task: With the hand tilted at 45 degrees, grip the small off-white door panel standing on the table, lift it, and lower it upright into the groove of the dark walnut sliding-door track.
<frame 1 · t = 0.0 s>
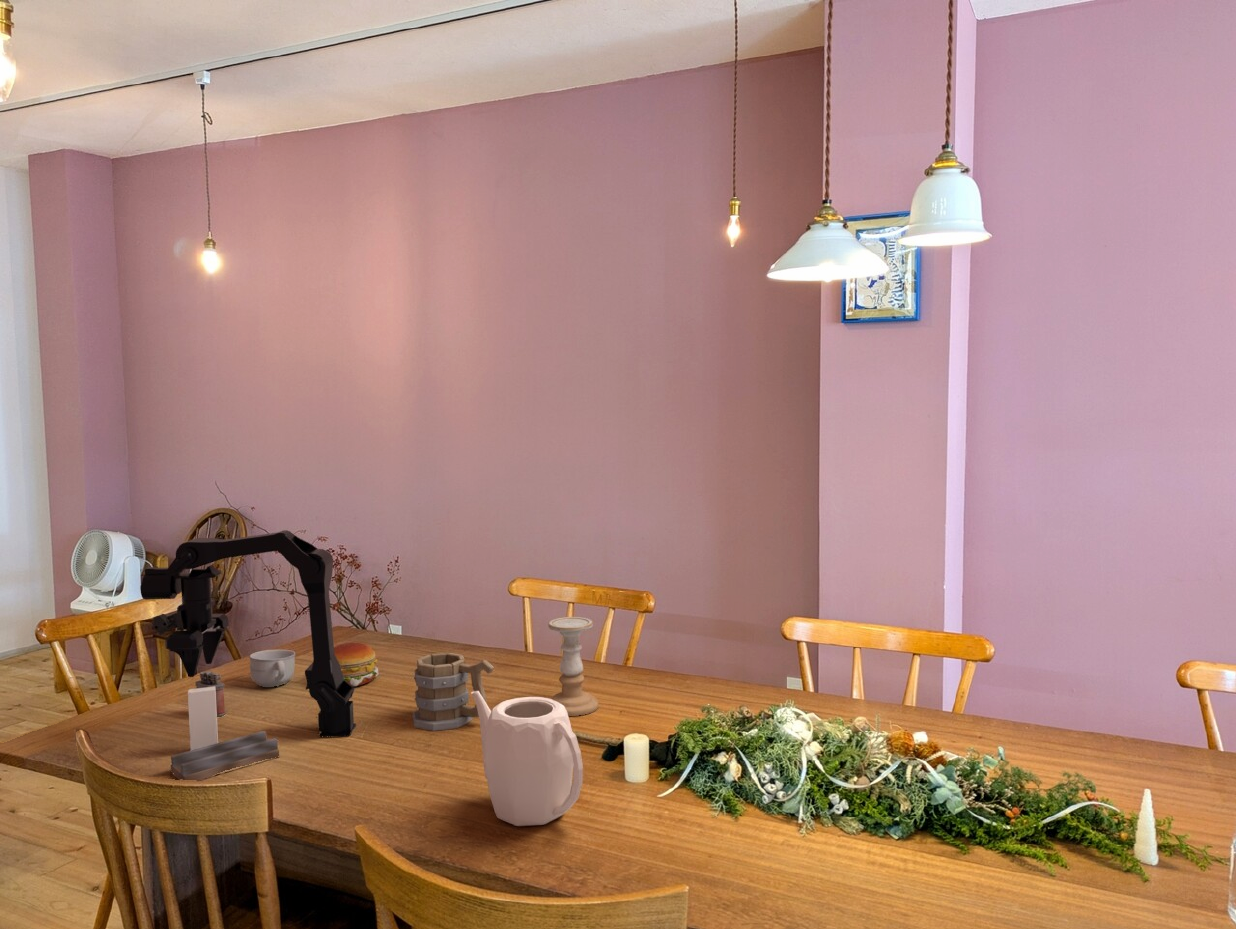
hand: (200, 670, 190), 15 cm above the table, tool pointing down, fingers open, 9 cm apart
door track: (226, 764, 176), on the table
teacup: (274, 686, 225), on the table
lighter: (211, 715, 204), on the table
tankard: (455, 723, 197), on the table
door panel: (204, 751, 183), on the table
candle holder: (572, 708, 206), on the table
burger: (351, 682, 227), on the table
watering can: (525, 811, 155), on the table
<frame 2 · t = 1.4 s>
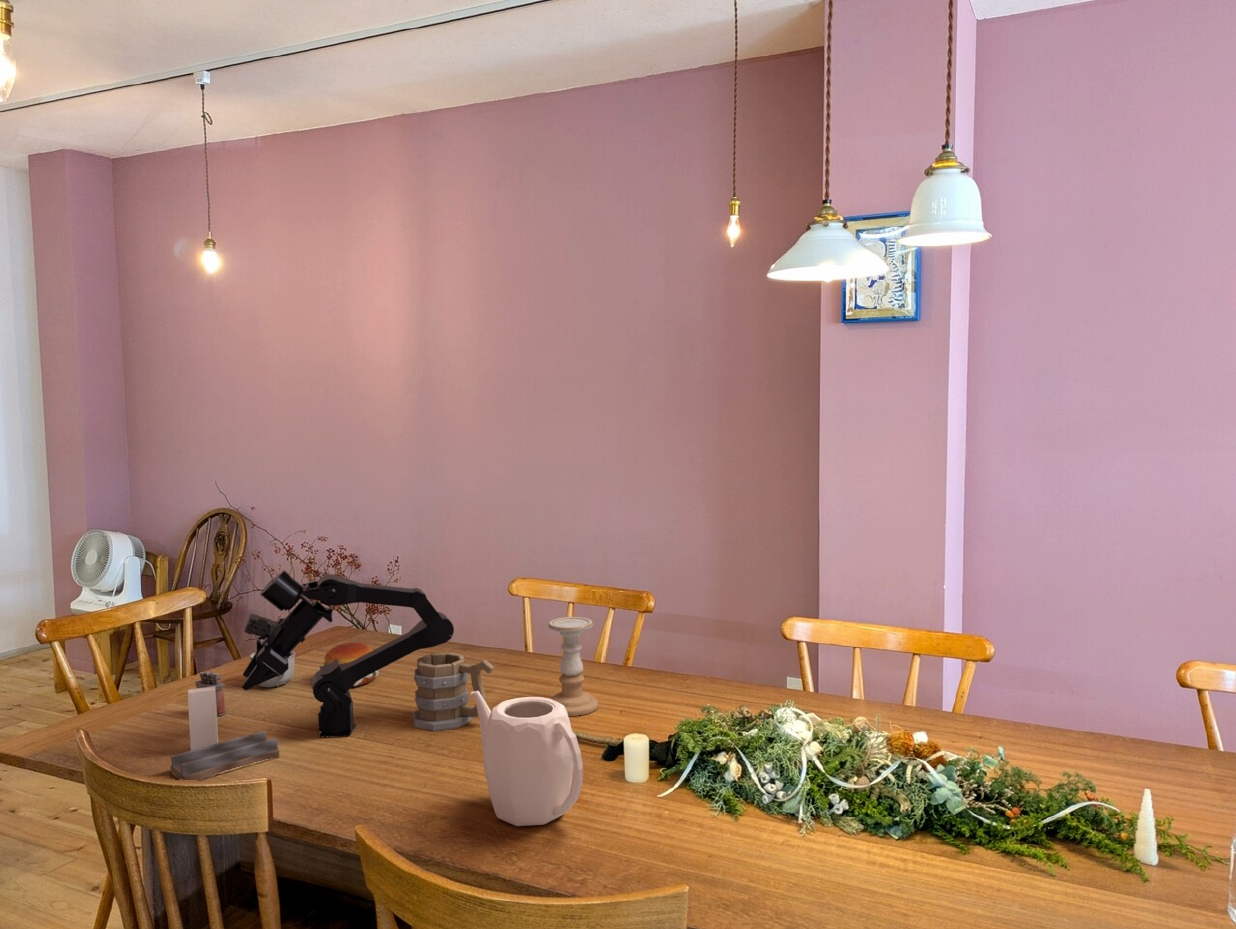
hand: (244, 682, 185), 13 cm above the table, tool tilted 45°, fingers open, 9 cm apart
nothing on the table moved.
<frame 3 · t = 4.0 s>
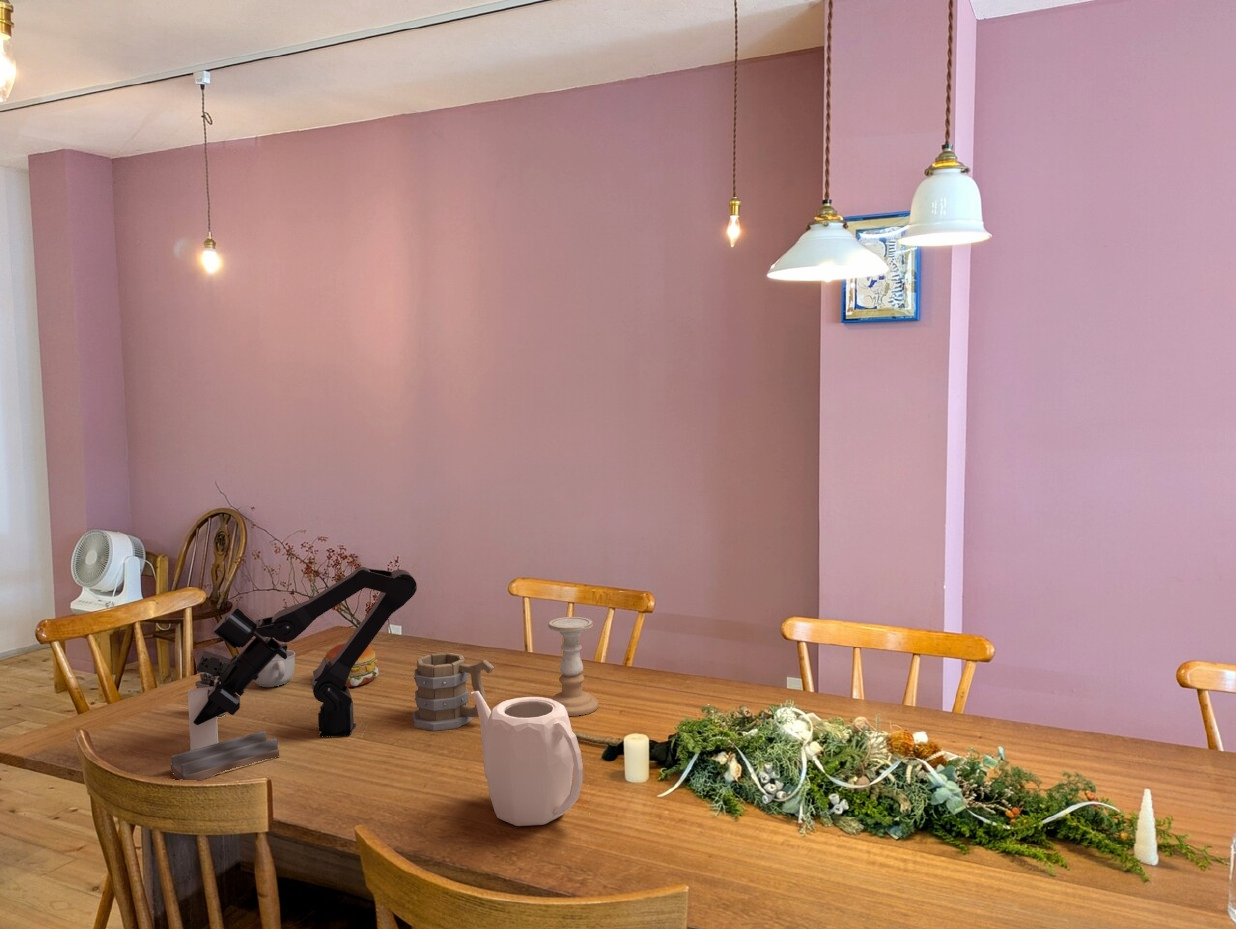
hand: (195, 721, 182), 7 cm above the table, tool tilted 45°, fingers open, 3 cm apart
door panel: (204, 751, 183), on the table, touching gripper
everything else where it was.
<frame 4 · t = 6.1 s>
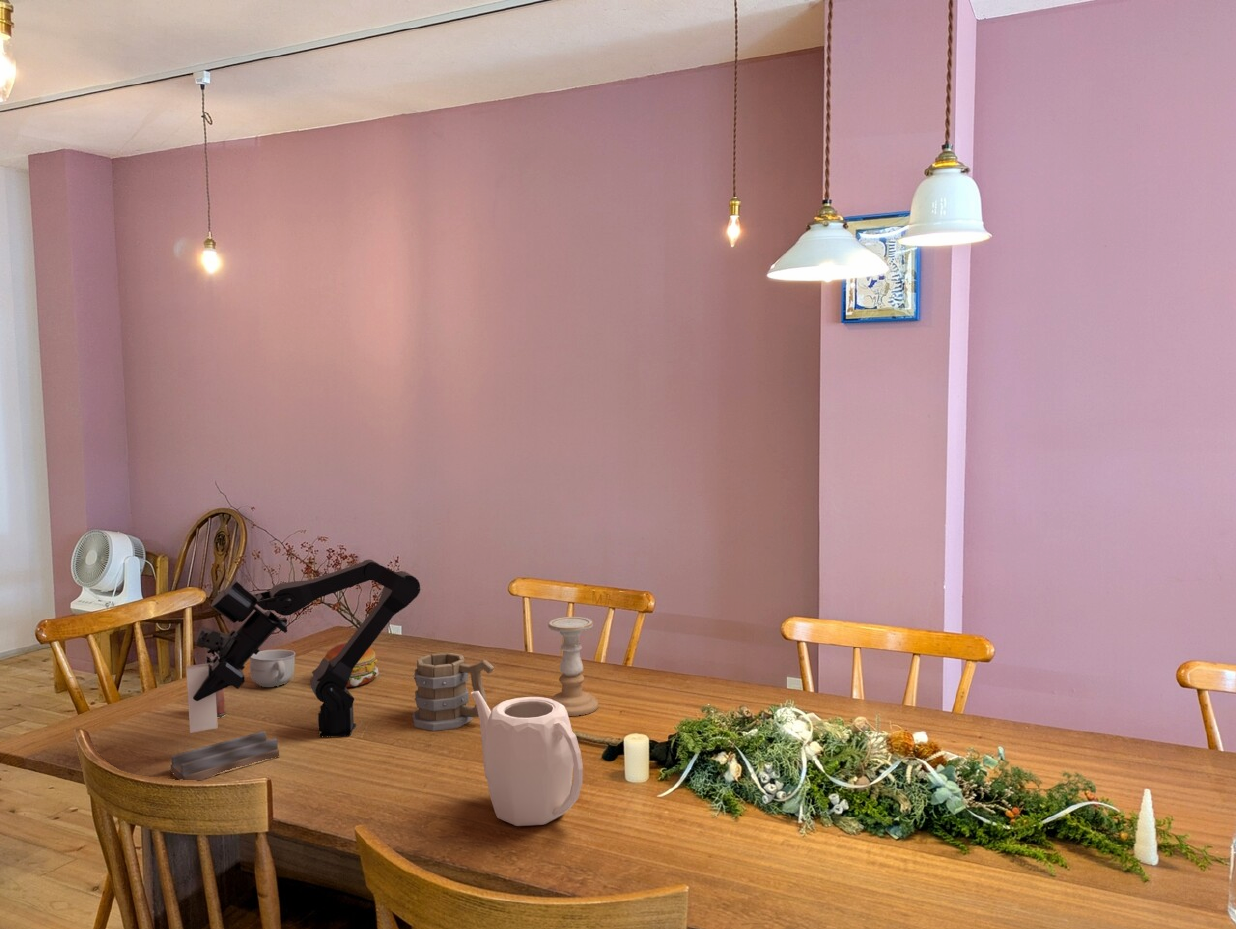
hand: (194, 697, 178), 12 cm above the table, tool tilted 45°, fingers closed on door panel, 2 cm apart
door panel: (203, 728, 180), point 6 cm above the table, touching gripper
everything else where it was.
when the fingers open (9 cm above the table, at t = 7.7 s): door panel stays where it is, resting on door track.
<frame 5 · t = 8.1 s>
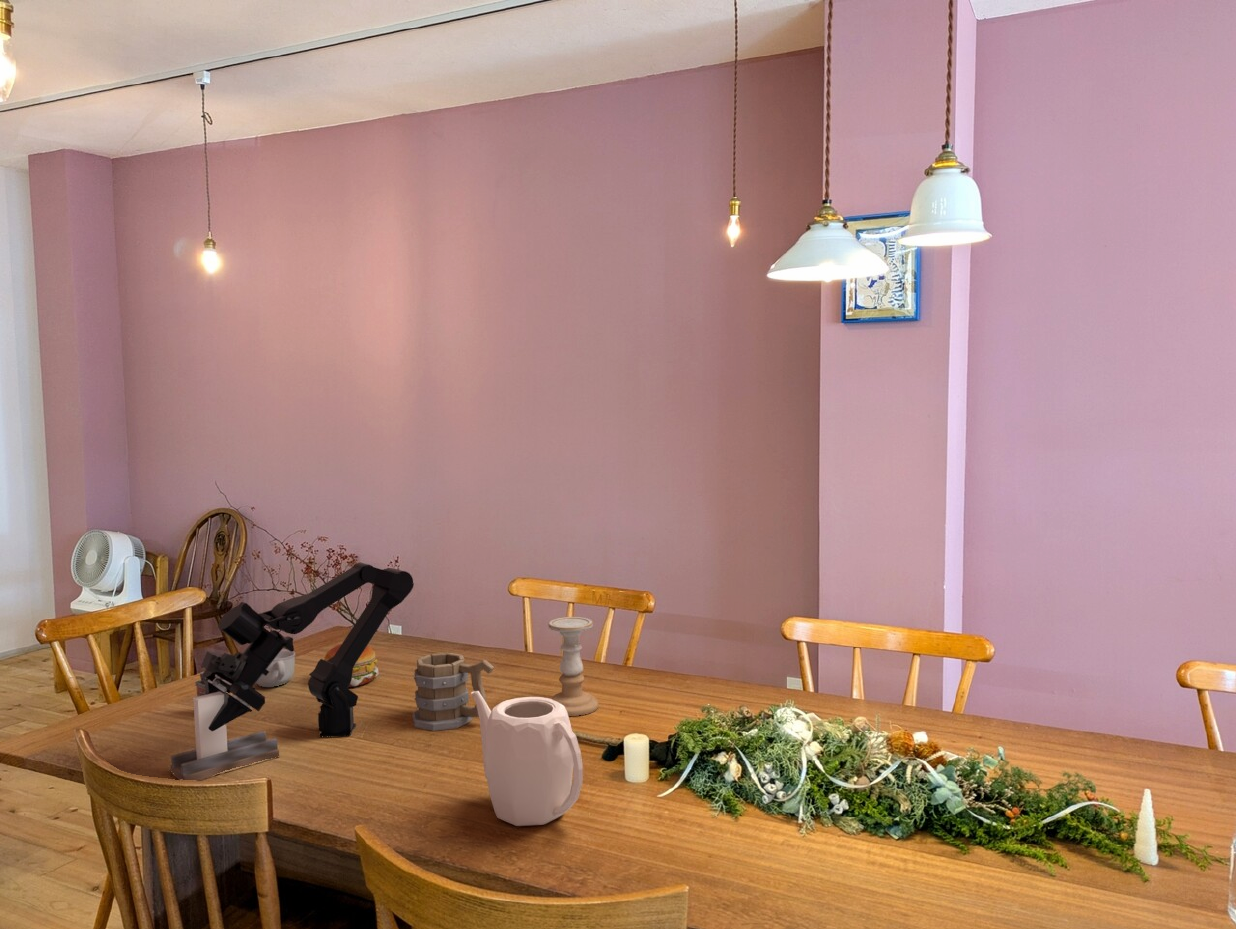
hand: (203, 725, 173), 9 cm above the table, tool tilted 45°, fingers open, 7 cm apart
door panel: (212, 760, 174), point 2 cm above the table, touching door track
everything else where it was.
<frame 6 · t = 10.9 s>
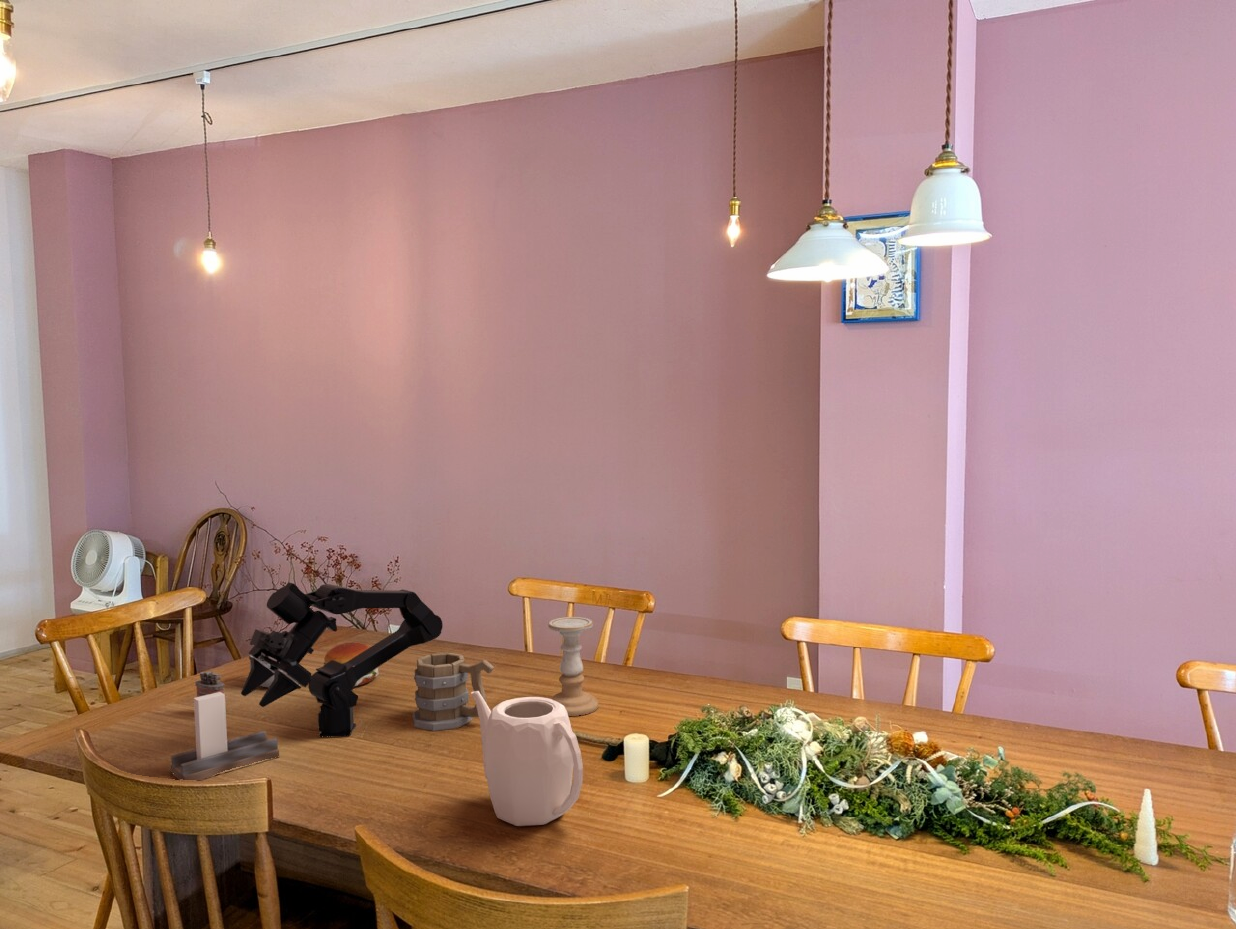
hand: (251, 700, 179), 12 cm above the table, tool tilted 45°, fingers open, 9 cm apart
nothing on the table moved.
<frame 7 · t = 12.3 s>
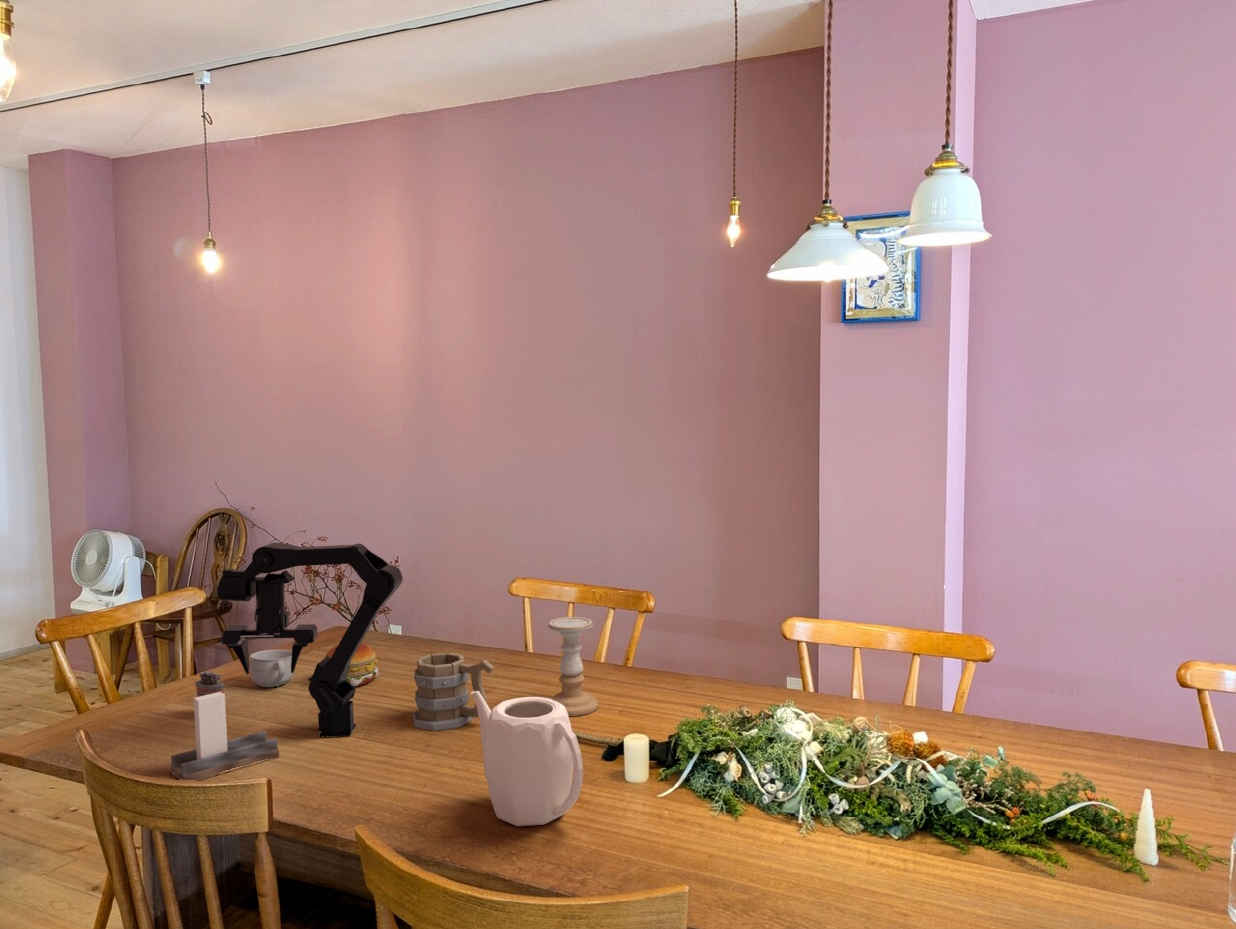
hand: (270, 673, 192), 13 cm above the table, tool pointing down, fingers open, 9 cm apart
nothing on the table moved.
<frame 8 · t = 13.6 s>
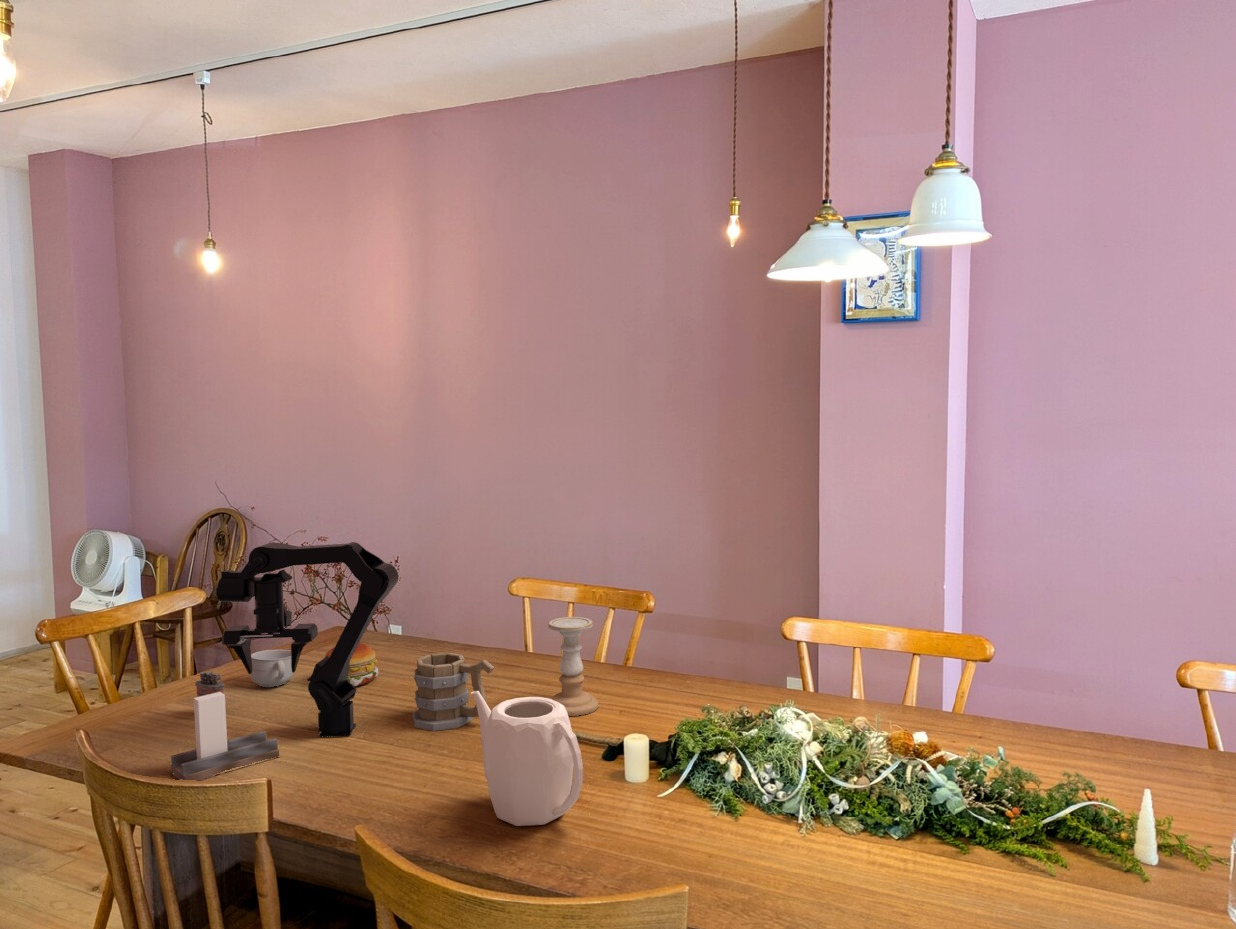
hand: (272, 672, 193), 13 cm above the table, tool pointing down, fingers open, 9 cm apart
nothing on the table moved.
at the end: door panel inside the target area on the door track (1.2 cm from its centre), point 1.5 cm above the door track's base; door panel tilted 0°; the gripper is holding nothing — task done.
